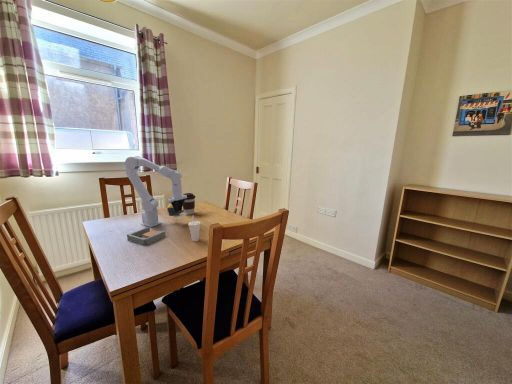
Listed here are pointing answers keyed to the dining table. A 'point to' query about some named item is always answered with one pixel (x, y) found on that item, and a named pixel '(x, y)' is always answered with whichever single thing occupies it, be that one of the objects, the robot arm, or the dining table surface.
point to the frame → (135, 238)
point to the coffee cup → (189, 204)
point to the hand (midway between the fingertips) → (178, 211)
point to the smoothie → (194, 229)
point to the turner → (175, 214)
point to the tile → (150, 234)
